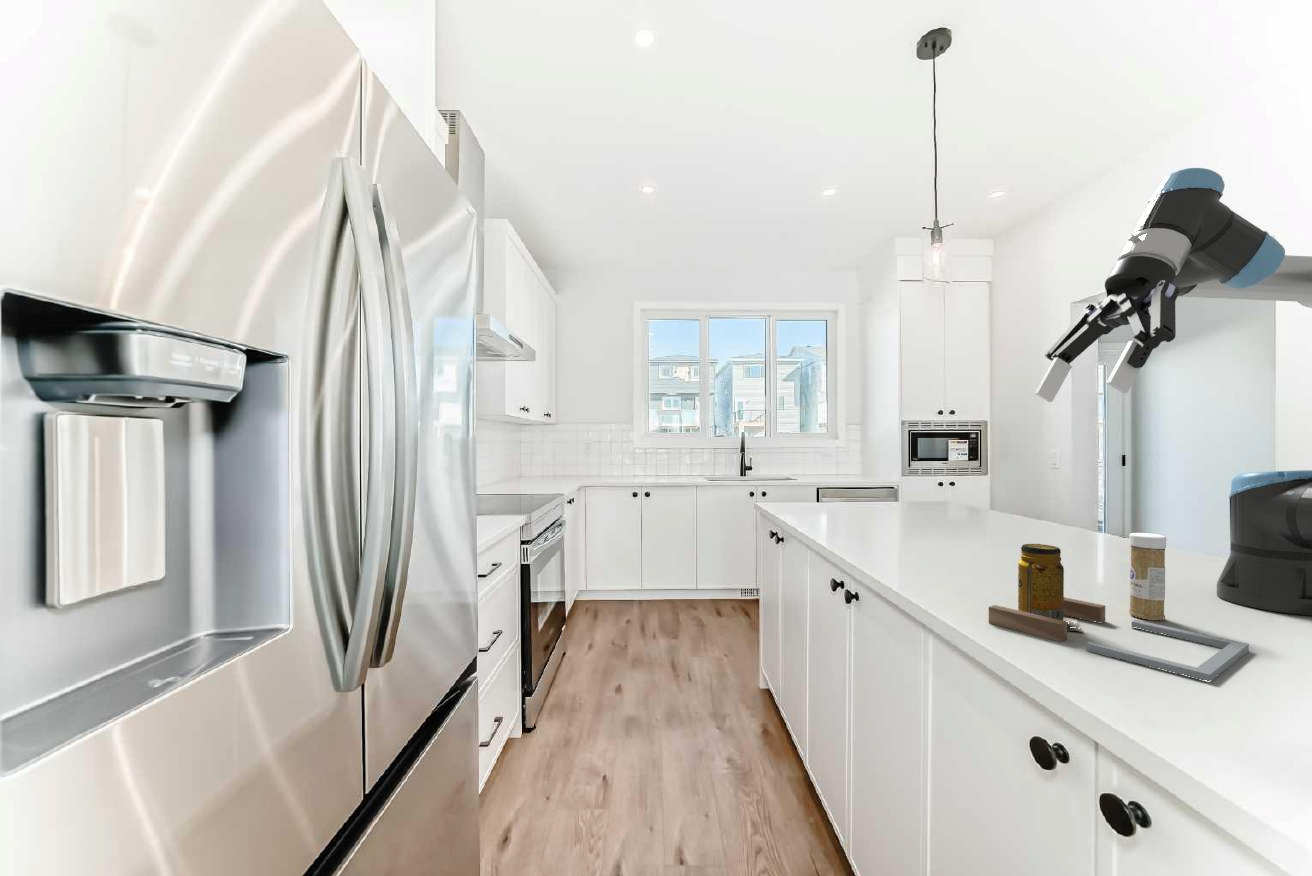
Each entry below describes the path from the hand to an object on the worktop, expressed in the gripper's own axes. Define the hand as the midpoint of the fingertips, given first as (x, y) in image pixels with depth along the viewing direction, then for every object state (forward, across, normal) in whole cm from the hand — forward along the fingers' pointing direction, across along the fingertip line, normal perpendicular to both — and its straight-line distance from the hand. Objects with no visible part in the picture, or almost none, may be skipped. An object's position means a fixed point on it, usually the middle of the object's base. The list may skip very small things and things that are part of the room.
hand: (1076, 393), depth 84 cm
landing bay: (+26, +4, +26) cm, 37 cm away
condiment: (+30, -8, +19) cm, 37 cm away
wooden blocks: (+30, -8, +19) cm, 36 cm away
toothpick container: (+21, -10, +34) cm, 41 cm away
